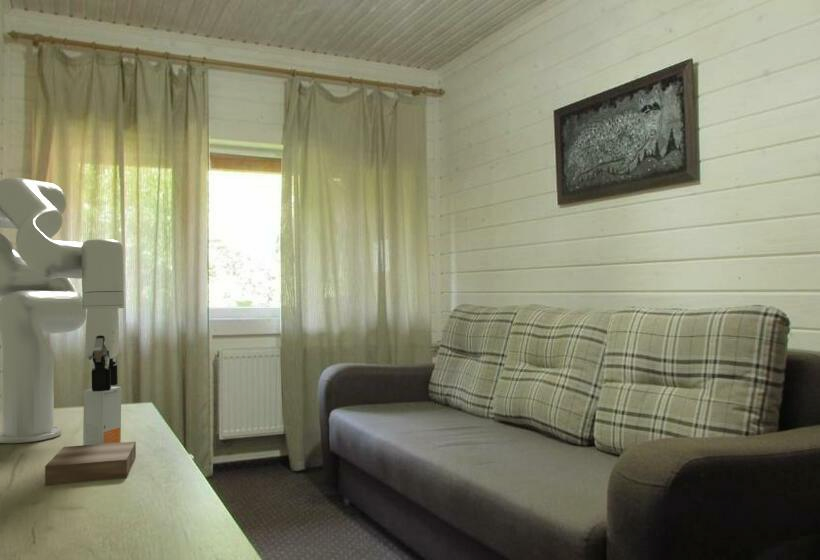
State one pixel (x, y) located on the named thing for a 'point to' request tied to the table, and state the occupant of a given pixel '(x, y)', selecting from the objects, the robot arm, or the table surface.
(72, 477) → the block
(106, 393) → the skincare box
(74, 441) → the table surface
